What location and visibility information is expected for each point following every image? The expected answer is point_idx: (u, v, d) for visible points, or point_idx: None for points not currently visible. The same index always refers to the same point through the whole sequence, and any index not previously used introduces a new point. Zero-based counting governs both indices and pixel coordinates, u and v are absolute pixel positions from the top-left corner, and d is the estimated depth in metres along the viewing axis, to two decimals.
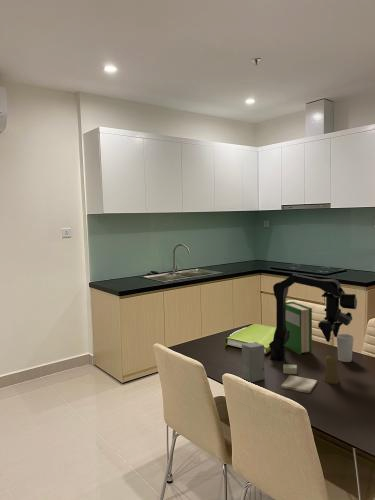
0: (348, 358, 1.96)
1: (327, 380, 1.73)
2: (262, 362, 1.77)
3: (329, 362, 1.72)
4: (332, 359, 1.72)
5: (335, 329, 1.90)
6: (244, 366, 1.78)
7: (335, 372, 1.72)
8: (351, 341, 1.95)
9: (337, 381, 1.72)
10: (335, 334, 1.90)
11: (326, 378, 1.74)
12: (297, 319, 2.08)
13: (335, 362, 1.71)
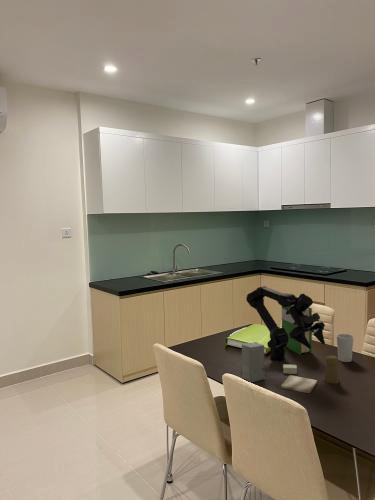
0: (348, 358, 1.96)
1: (327, 380, 1.73)
2: (262, 362, 1.77)
3: (329, 362, 1.72)
4: (332, 359, 1.72)
5: (319, 337, 1.85)
6: (244, 366, 1.78)
7: (335, 372, 1.72)
8: (351, 341, 1.95)
9: (337, 381, 1.72)
10: (322, 341, 1.83)
11: (326, 378, 1.74)
12: None
13: (335, 362, 1.71)
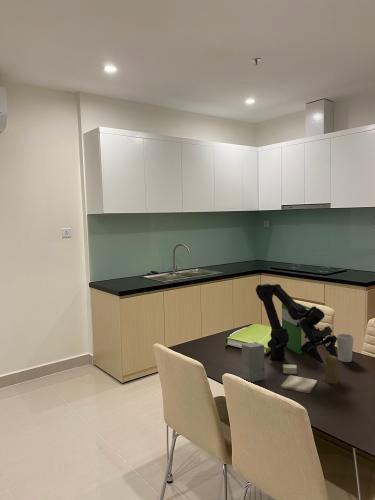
0: (348, 358, 1.96)
1: (327, 380, 1.73)
2: (262, 362, 1.77)
3: (329, 362, 1.72)
4: (332, 359, 1.72)
5: (332, 351, 1.79)
6: (244, 366, 1.78)
7: (335, 372, 1.72)
8: (351, 341, 1.95)
9: (337, 381, 1.72)
10: None
11: (326, 378, 1.74)
12: None
13: (335, 362, 1.71)
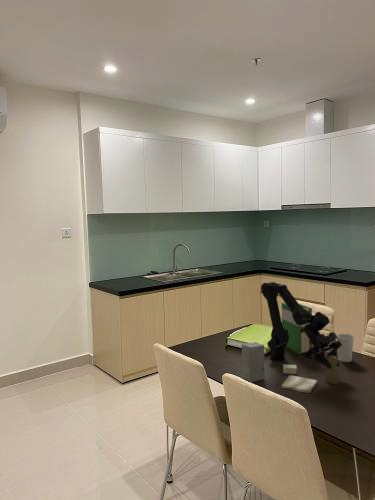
0: (348, 358, 1.96)
1: (327, 380, 1.73)
2: (262, 362, 1.77)
3: (329, 362, 1.72)
4: (332, 359, 1.72)
5: None
6: (244, 366, 1.78)
7: (335, 372, 1.72)
8: (351, 341, 1.95)
9: (337, 381, 1.72)
10: None
11: (326, 378, 1.74)
12: None
13: (335, 362, 1.71)
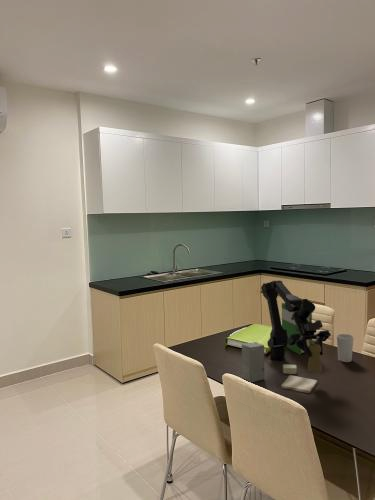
0: (348, 358, 1.96)
1: (309, 368, 1.69)
2: (262, 362, 1.77)
3: (310, 350, 1.68)
4: (313, 347, 1.68)
5: None
6: (244, 366, 1.78)
7: (317, 361, 1.68)
8: (351, 341, 1.95)
9: (319, 370, 1.68)
10: (320, 352, 1.70)
11: (308, 366, 1.70)
12: None
13: (316, 351, 1.67)
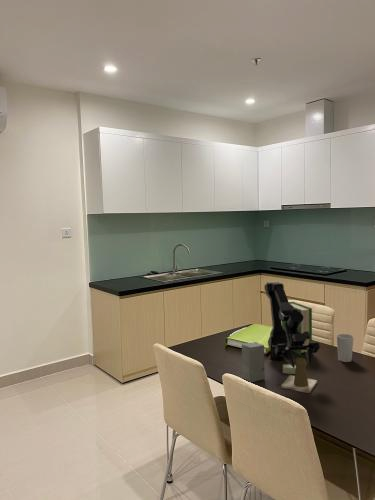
0: (348, 358, 1.96)
1: (294, 382, 1.69)
2: (262, 362, 1.77)
3: (295, 364, 1.68)
4: (298, 361, 1.67)
5: (307, 358, 1.70)
6: (244, 366, 1.78)
7: (302, 375, 1.67)
8: (351, 341, 1.95)
9: (304, 385, 1.67)
10: (308, 363, 1.69)
11: (294, 380, 1.70)
12: None
13: (301, 365, 1.67)
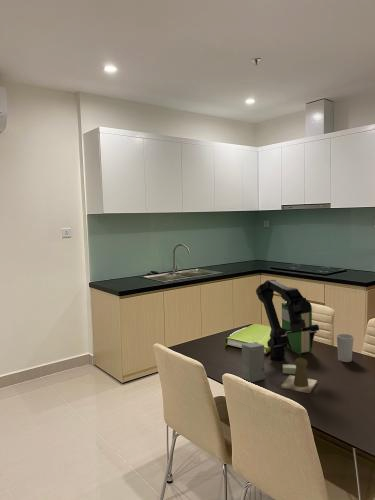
0: (348, 358, 1.96)
1: (294, 382, 1.69)
2: (262, 362, 1.77)
3: (296, 364, 1.68)
4: (298, 361, 1.67)
5: None
6: (244, 366, 1.78)
7: (302, 376, 1.67)
8: (351, 341, 1.95)
9: (304, 385, 1.67)
10: None
11: (294, 380, 1.70)
12: None
13: (301, 365, 1.67)
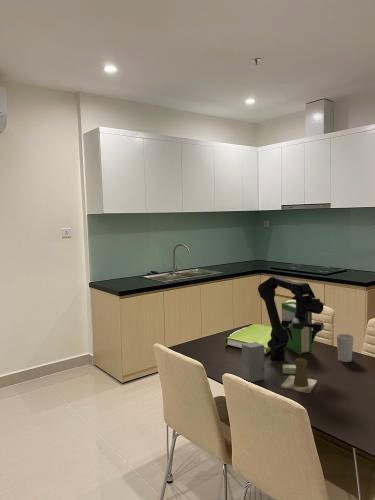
0: (348, 358, 1.96)
1: (294, 382, 1.69)
2: (262, 362, 1.77)
3: (296, 364, 1.68)
4: (298, 361, 1.67)
5: None
6: (244, 366, 1.78)
7: (302, 376, 1.67)
8: (351, 341, 1.95)
9: (304, 385, 1.67)
10: None
11: (294, 380, 1.70)
12: None
13: (301, 365, 1.67)
